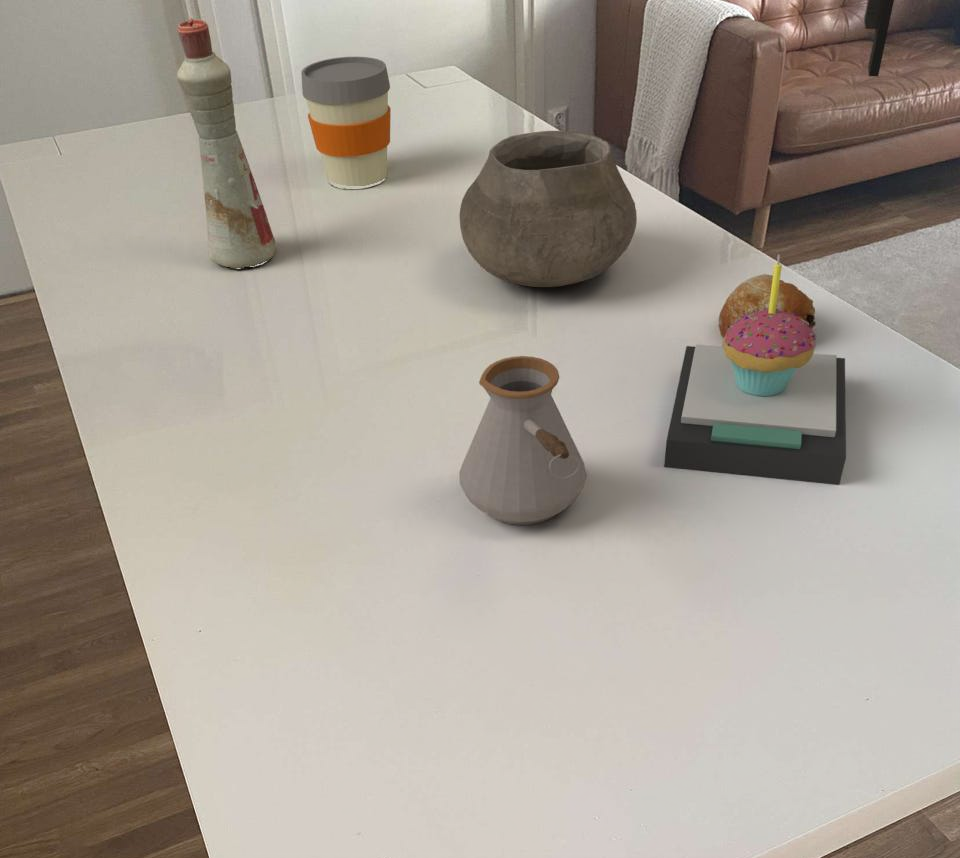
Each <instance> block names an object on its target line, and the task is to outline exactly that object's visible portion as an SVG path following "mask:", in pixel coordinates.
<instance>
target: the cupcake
mask: <svg viewBox="0 0 960 858" xmlns="http://www.w3.org/2000/svg"><path fill="white" fill-rule="evenodd" d="M776 259H777V260H776V263H775V264H774V266H773V273H772V276H773V280H772V288H771V296H770V303H769V308H768V309H767V308H765V309H763V310H761V309H759V310H757V311H754V310H753V311H752V312H751V313H745V314H743V315H742V316H741V317H739V318H738V319H737V320H735V321H734V322H733V321H732V324H731V325H730V326H729V325H728V329H727V331H726V332H727V333H726V335H725V337H724V338H723V339H722V346H723V348H724V351H725V354H726V357H727V358H728V359H730V360H731V362H732V364H733V368H734V373H735V378H736V384H737V386H738V387H739V388H740V389H741V390H742V391H744V392H746V393H748V394H752V395H756V396H772V395H776V394H778V393H780V392H782V391H783V390H784V389H785V388H786V386H787V384H788V382H789V380H790V378H791V377H792V375H793V373H794V372H795V370H796V369H797V368H800V367H802V366H804V365H805V364H807V363H808V362H809V360H810V359H811V357H812V355H813V353H814V352H815V348H816V343H817V341H816V340H817V338H816V337H817V336H818V335H817V333H816V332H815V333H814V330H813V328H810V326H809V323H808V322H806V321H804V320H803V319H802V317H800V316H799V317H798V316H797V315H796V314H792V313H791V312H787V311H785V310H778V309H776V305H777V298H778V290H779V282H780V280H781V274H782V266H783V265H782V263H780V261H781V254H777V258H776Z"/></svg>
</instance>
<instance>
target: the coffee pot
mask: <svg viewBox="0 0 960 858" xmlns="http://www.w3.org/2000/svg"><path fill="white" fill-rule="evenodd" d="M559 380H560V372H559V370H558V369H557V367H556V366H555V365H554V364H553V363H552V362H550V361H548V360H546V359H543V358H541V357H536V356H525V355H520V356H519V355H518V356H509V357H504V358H502V359H499V360H496V361H494V362H493V363H491V364H489V365H488V366H487V367H486V368H485V369H484V371H483V372H482V374H481V376H480V379H479V381H478V384H479V385H480V386H481V387H482V388H483V389H484V390H485V392H486V393H487V394H488V396H489V401H488V403H487V406H486V408H485V410H484V413H483V415H482V417H481V419H480V422H479V424H478V426H477V429H476V431H475V433H474V436H473V438H472V440H471V443H470V444H469V448H468V450H467V452H466V455H465V457H464V459H463V461H462V464H461V467H460V470H459V485H460V487H461V489H462V491H463V494H464V495H465V496H466V498H467V499H468V501H469V502H470V503H472V505H473V506H474V507H475V508H476V509H478V510H479V511H481V512H483V513H485V514H486V515H488V516H490V517H491V518H493V519H494V520H497V521H499V522H502V523H505V524H509V525H518V526H525V525H534V524H535V525H536V524H538V523H543V522H545V521H547V520H549V519H552V518H554V517H555V516H556V515H558V514H560V513H561V512H563V511H564V510H565V509H567V508H568V507H569V506H571V505H572V504H573V503H574V502H575V501H576V500H577V498H578V497H579V495H580V494H581V492H582V491H583V488H584V487H585V482H586V478H587V471H586V467H585V462H584V460H583V457H582V456H581V453H580V451H579V449H578V447H577V445H576V443H575V441H574V439H573V436H572V435H571V433H570V430H569V428H568V427H567V425H566V422H565V420H564V418H563V416H562V414H561V413H560V410H559V408H558V406H557V403H556V402H555V400H554V398H553V396H552V393H553V389H555V387H556V386H557V385H558V383H559Z"/></svg>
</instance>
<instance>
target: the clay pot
mask: <svg viewBox="0 0 960 858" xmlns="http://www.w3.org/2000/svg"><path fill="white" fill-rule="evenodd" d="M637 221H638V217H637V208H636V203H635V201H634V199H633V196H632V194H631V192H630V190H629V188H628V187H627V184H626V183H625V181H624V179H623V177H622V174H621V172H620V171H619V168H618V166H617V162H616V159H615V156H614V153H613V149H612V145H611V144H610V143H609V142H608V141H607V140H603V138H600V137H597V136H595V135H592V134H587V133H583V132H578V131H569V130H541V131H532V132H527V133H520V134H515V135H511V136H508V137H507V138H504V139H502V140H500V141H499V142H497V143H496V144H494V145H493V146H492V147H491V149H490V150H489V152H488V157H487V159H486V161H485V162H484V164H483V166H482V168H481V170H480V172H479V174H478V175H477V177H476V178H475V180H474V181H473V182H472V183H471V184H470V186H468V188H467V189H466V191H465V193H464V195H463V197H462V200H461V203H460V208H459V227H460V233H461V238H462V241H463V243H464V245H465V247H466V249H467V252H468V253H469V254H470V255H471V257H472V258H473V260H474V261H475V262H476V263H477V264H478V265H479V266H480V267H481V268H482V269H483V270H485V271H486V272H488V273H489V274H491V276H494V277H496V278H498V279H500V280H502V281H506V282H509V283H513V284H517V285H520V286H525V287H533V288H555V287H556V288H557V287H564V286H567V285H573V284H579V283H581V282H585V281H588V280H590V279H592V278H594V277H597V276H598V275H600V274H602V273H604V272H605V271H606V270H608V269H609V268H610V267H611V266H612V265H614V264H615V263H616V262H617V261H618V259H619V258H620V257H621V256H622V255H623V254H624V252H625V251H627V249H628V247H629V246H630V243H631V242H632V239H633V237H634V234H635V232H636V228H637V223H638V222H637Z"/></svg>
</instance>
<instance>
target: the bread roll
mask: <svg viewBox="0 0 960 858" xmlns="http://www.w3.org/2000/svg"><path fill="white" fill-rule="evenodd" d="M772 280H773V274H767V273H763V274H758V275H755V276H752V277H750V278H748V279H746V280H745V281H742V282H741V283H739V285H738V286H737V287H735V289H734V290H733V291H732V292H731V293H730V294H729V295H728V297H727V298H726V300H725V303H724V304H723V305H722V308H721V309H720V312H719V315H718V329H719V332H720V336H721V337H722V338H723V339H724V337H725V335H726V333H727V332H726V331H727V329H728V325H729V326H730V325H731V324H732V321H733V322H734V321H735V320H737V319H738V318H739V317H741V316H742V315H743V314H745V313H751V312H752V311H753V310H754V311H757V310H759V309H761V310H763V309H765V308H767V309H768V308H769V303H770V296H771V288H772ZM813 303H814V300H812V299H811V298H810V297H809V296H807V294H806V293H804V292H803V291H802V290H801V289H799V288H798V286H796V285H795V284H793V283H789V282H785V281H784V280H782V279H780V282H779V290H778V298H777V305H776V309H778V310H785V311H787V312H791V313H792V314H796V315H797V316H798V317H799V316H800V317H802V319H803V320H804V321H806V322H808V323H809V326H810V328H812V329H813V328H814V327H815V326H816V321H815V319H816V317H815V314H816V309H815V307H814V304H813Z"/></svg>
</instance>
